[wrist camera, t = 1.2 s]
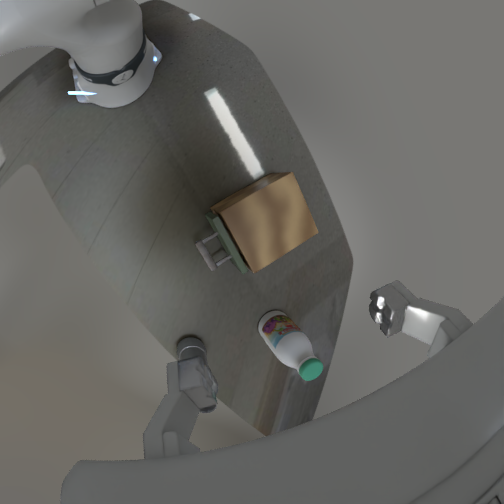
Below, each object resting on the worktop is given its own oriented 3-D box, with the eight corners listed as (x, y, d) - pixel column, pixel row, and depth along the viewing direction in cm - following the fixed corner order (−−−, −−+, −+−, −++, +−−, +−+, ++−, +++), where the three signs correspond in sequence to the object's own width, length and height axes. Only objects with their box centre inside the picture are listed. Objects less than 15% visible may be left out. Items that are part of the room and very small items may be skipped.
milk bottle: (288, 331, 66) (330, 377, 48) (259, 341, 64) (295, 393, 46) (285, 305, 64) (331, 349, 46) (255, 315, 62) (293, 364, 44)
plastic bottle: (186, 328, 57) (202, 388, 39) (209, 343, 60) (232, 402, 42) (170, 347, 57) (179, 410, 39) (193, 361, 60) (210, 422, 41)
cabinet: (239, 259, 57) (254, 273, 48) (210, 207, 53) (220, 212, 44) (295, 224, 60) (318, 232, 51) (271, 173, 55) (292, 172, 46)
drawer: (213, 274, 55) (221, 287, 48) (184, 226, 51) (188, 233, 44) (285, 229, 58) (303, 236, 51) (263, 181, 54) (279, 181, 47)
